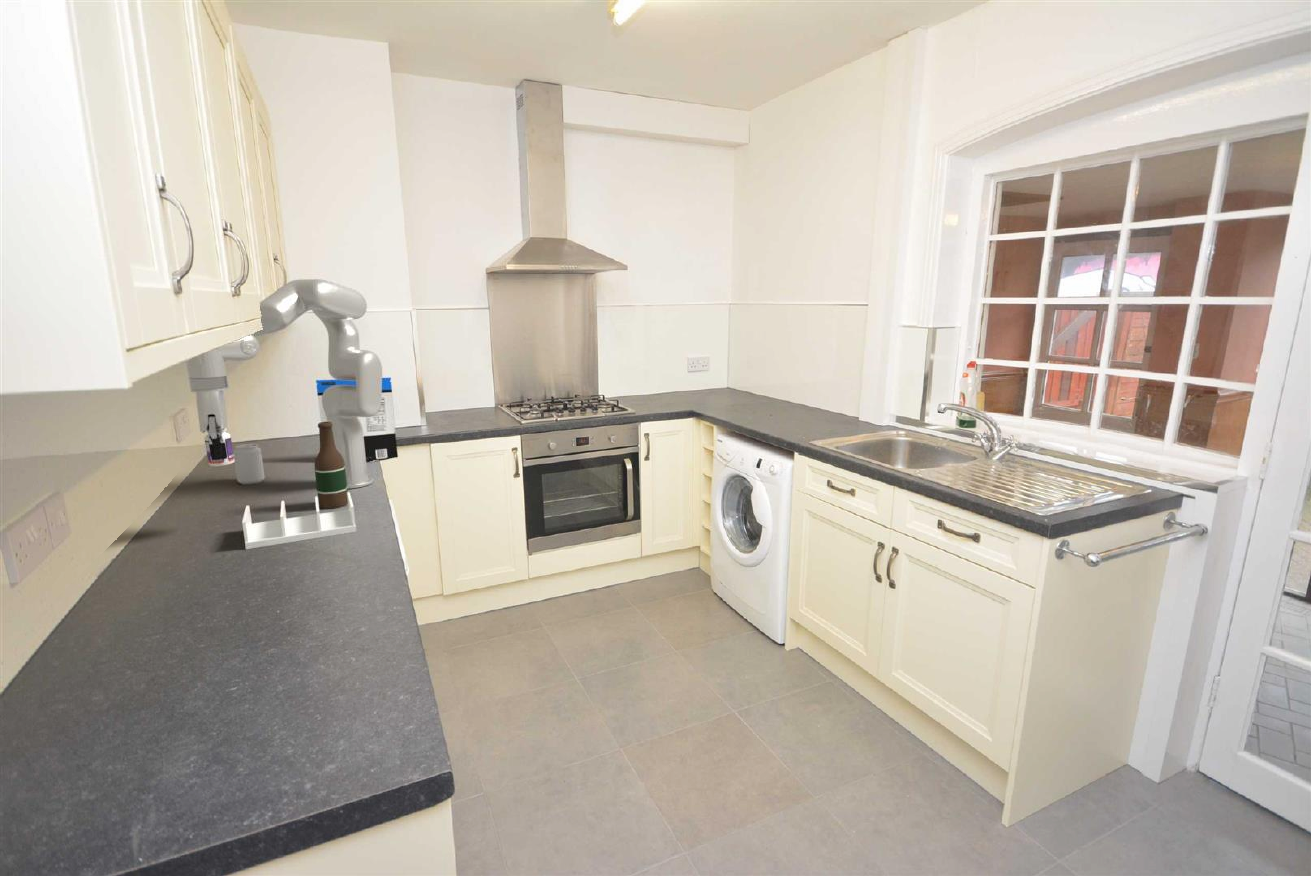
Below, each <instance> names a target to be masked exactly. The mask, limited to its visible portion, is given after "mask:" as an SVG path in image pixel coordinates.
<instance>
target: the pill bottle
mask: <svg viewBox="0 0 1311 876" xmlns="http://www.w3.org/2000/svg"><path fill="white" fill-rule="evenodd" d="M218 430H220V429H219V428H217V429H216V431H218ZM225 431H226V432H225ZM205 432H206V433H207V434H206V435H205V436H204V443H205V444H204V445H205V449H206V455H207V461H208V465H209V466H211V467H223V466H227V465H231V464H233V463H234V464H235V459H234V453H233V452H234V448H233V442H232V437H231V434H230V433H229V432H227V427H226V428H225V430H223V431H222V434H223V443H225V445H226V452H227V459H220V460H212V459H211V454H210V448H209V436H208V429H207V430H206V431H205ZM219 437H220V436H219Z"/></svg>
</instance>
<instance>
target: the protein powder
mask: <svg viewBox="0 0 1311 876" xmlns="http://www.w3.org/2000/svg"><path fill="white" fill-rule="evenodd" d="M391 380H392V377H382V396H381V406H380V409H379V411H378V412H377V413H376V414H375V415H374V416H371V417H358V419H359V420H360V422H361V425H362V428H363V436H364V446H365V455H366V462H367V463H371V462H370V461H373V460H379V461H378V462H380V461H387V460H390V459H395V458H399V454H398V444H397V438H396V436H397V435H396V425H395V411H394V399H393V398H394V397H393V388H392V381H391ZM315 382H316V393H317V394H316V395H317V401H318V402H317V403H318V409H319V417H320V422H327V418H326V415H325V412H324V409H323V405H322V395H323V393H324V391H325V390H326V389H327V388H329V387H331V386H334V385H353V386H356V381H344V380H337V379H316V380H315Z"/></svg>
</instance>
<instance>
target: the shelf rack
mask: <svg viewBox="0 0 1311 876" xmlns="http://www.w3.org/2000/svg"><path fill="white" fill-rule="evenodd" d="M347 497H348V503H347V505H348V509H344V510H338V511H331V512H323V513H322V512H321V513H320V506H319V501H318V495H317V496H315V497H314V499H315V500H314V501H315V509H316V514H308V515H302V516H301V515H300V516H294V517H288V518H287V512H286V505H285V500H281V503H280V516H279V518H280V519H274V520H267V521H260V522H254V523H252V515H251V508H250V505H246V506H245V510H244V513H243V517H242V521H241V524H242V530H243V536H244V545H245V549H246V550H250V549H255V548H263V547H268V546H276V545H281V544H288V543H295V542H301V541H307V540H313V539H318V538H319V539H320V538H325V537H326V538H327V537H331V536H337V535H345V534H348V533H355V532H357V524H356V518H355V517H356V515H355V508H354V503H353V502H354V501H353V500H352V496H351V493H350V491H348V492H347ZM344 533H345V534H344Z"/></svg>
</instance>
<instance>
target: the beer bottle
mask: <svg viewBox="0 0 1311 876" xmlns="http://www.w3.org/2000/svg"><path fill="white" fill-rule="evenodd" d="M332 426H333V424H332V422H321V421H320V422H318V424H317V428H318V430H319V433H318V435H319V452H318V454H317V456H316V458H315V461H314V475H315V483H316V493H317V496H318V504H319V509H324V510H330V509H339V508H343V507H346V506H347V505H348V497H347V492H349V489H348V488H347V479H346V470H345V463H344V459H343V457H342V455H341V454H340V453H339V452H338V451H337V449H336V446H335V442H334V436H333V431H332Z"/></svg>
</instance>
